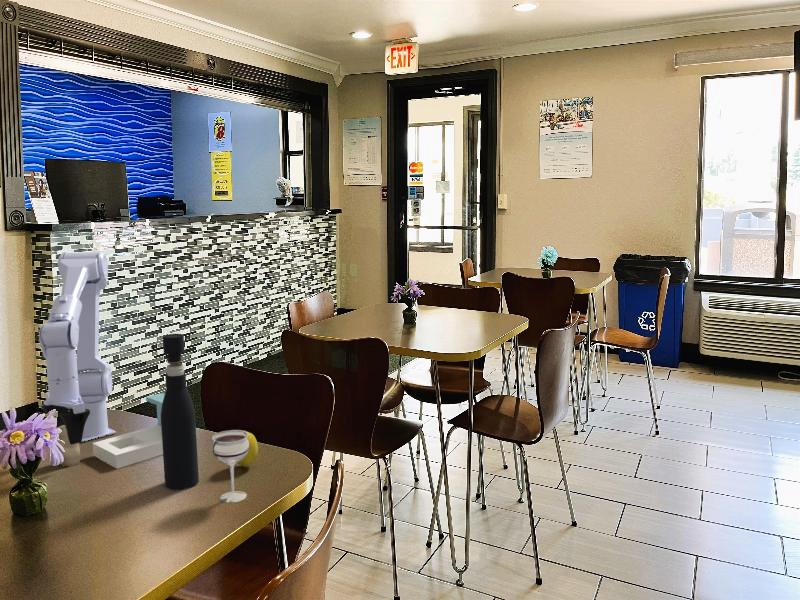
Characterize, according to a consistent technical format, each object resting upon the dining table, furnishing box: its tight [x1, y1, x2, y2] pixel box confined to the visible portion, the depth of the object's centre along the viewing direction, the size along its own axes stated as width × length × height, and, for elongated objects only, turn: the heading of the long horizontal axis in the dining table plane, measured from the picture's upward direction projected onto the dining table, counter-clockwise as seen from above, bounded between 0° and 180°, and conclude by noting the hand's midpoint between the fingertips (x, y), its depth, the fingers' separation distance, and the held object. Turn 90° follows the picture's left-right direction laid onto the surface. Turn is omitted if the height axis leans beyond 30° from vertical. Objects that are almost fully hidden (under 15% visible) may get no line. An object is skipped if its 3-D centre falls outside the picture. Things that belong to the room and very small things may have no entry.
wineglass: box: [211, 429, 249, 504], centre depth 125 cm, size 7×7×12 cm
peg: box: [58, 425, 81, 467], centre depth 142 cm, size 4×4×8 cm
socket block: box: [92, 392, 165, 470], centre depth 148 cm, size 11×17×10 cm, turn 139°
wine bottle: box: [161, 333, 200, 491], centre depth 129 cm, size 6×6×30 cm
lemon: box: [236, 430, 259, 468], centre depth 139 cm, size 6×6×8 cm
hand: (68, 439), depth 142 cm, fingers open, 7 cm apart
